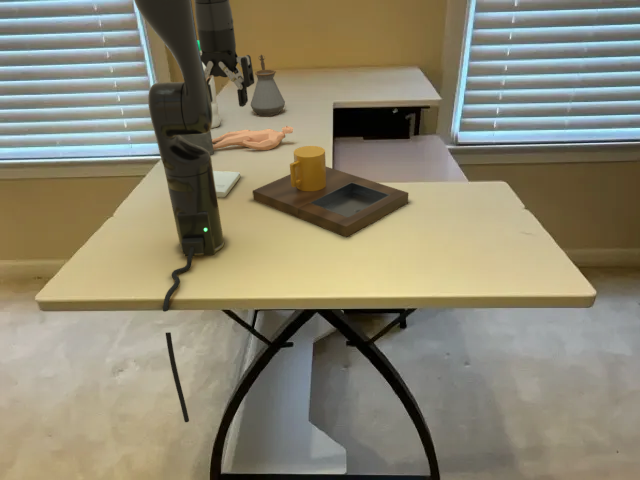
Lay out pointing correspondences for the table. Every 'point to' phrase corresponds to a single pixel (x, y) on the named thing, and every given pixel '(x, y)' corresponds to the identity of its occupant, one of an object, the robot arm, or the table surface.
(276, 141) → the male figurine
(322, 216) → the counter
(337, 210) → the sink
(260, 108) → the coffee pot
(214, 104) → the water bottle
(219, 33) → the robot arm
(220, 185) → the hard drive
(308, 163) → the mug
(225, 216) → the table surface
